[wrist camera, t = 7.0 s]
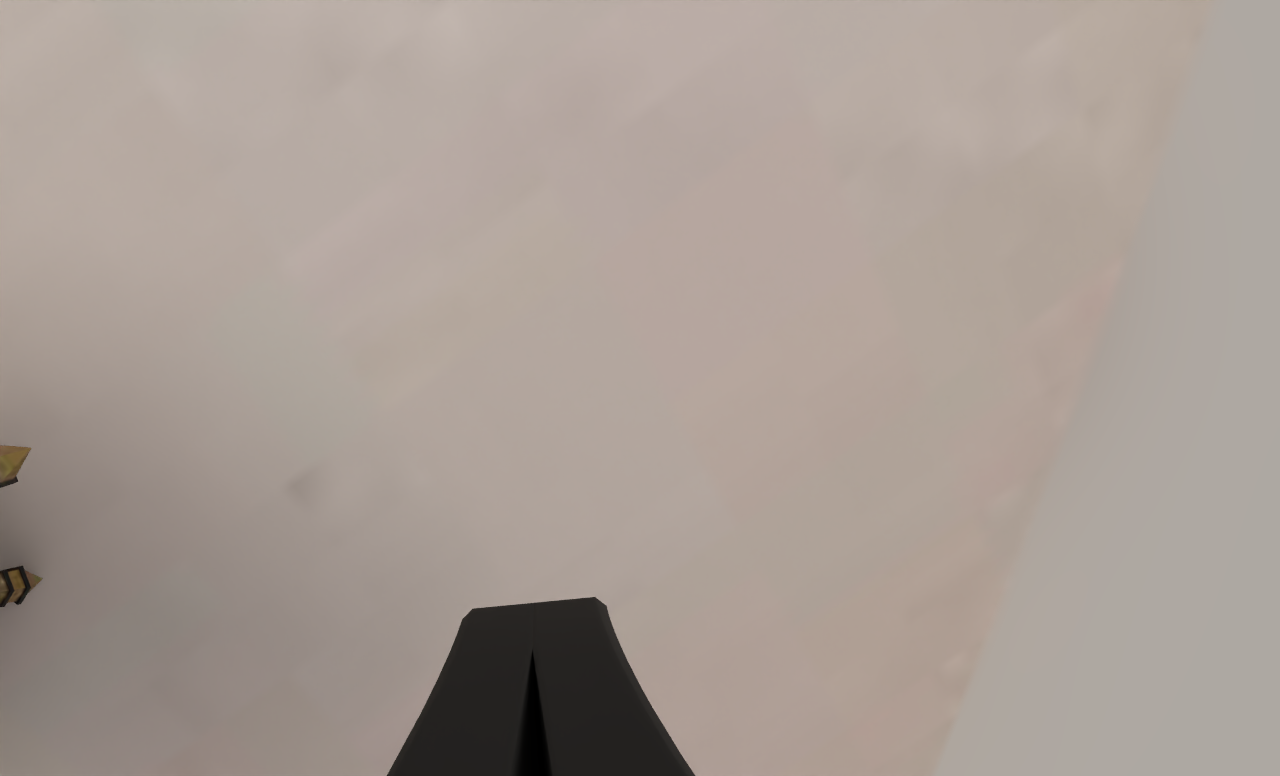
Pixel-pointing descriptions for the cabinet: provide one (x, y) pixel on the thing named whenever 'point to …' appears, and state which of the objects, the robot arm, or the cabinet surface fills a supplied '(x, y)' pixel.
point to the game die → (17, 582)
